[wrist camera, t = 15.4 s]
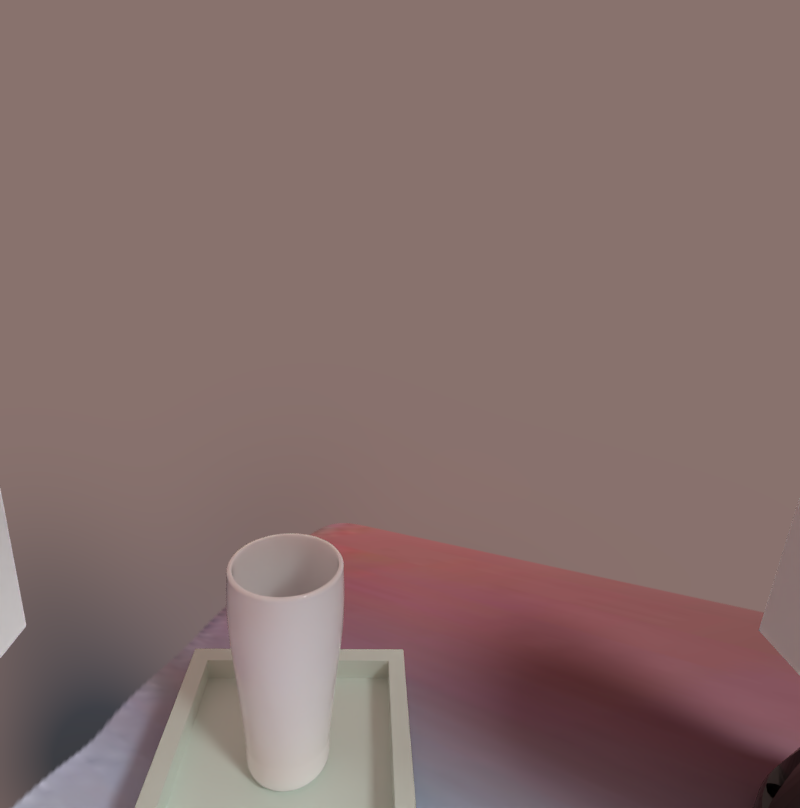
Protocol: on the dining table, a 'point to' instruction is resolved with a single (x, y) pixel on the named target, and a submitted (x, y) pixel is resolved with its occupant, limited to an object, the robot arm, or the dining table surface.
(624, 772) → the dining table surface
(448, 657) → the dining table surface
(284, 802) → the tray
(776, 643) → the robot arm
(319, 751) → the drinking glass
